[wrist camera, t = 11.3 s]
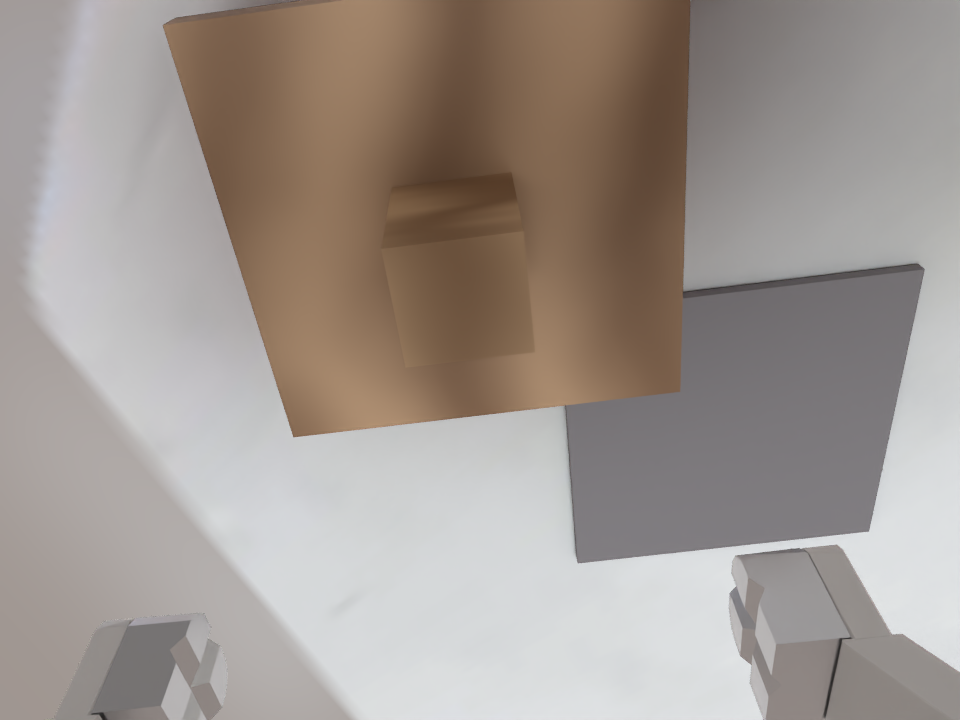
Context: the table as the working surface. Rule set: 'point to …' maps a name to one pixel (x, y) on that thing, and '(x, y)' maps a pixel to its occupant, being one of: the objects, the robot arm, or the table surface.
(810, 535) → the mat
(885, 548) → the table surface
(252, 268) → the lid
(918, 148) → the table surface
